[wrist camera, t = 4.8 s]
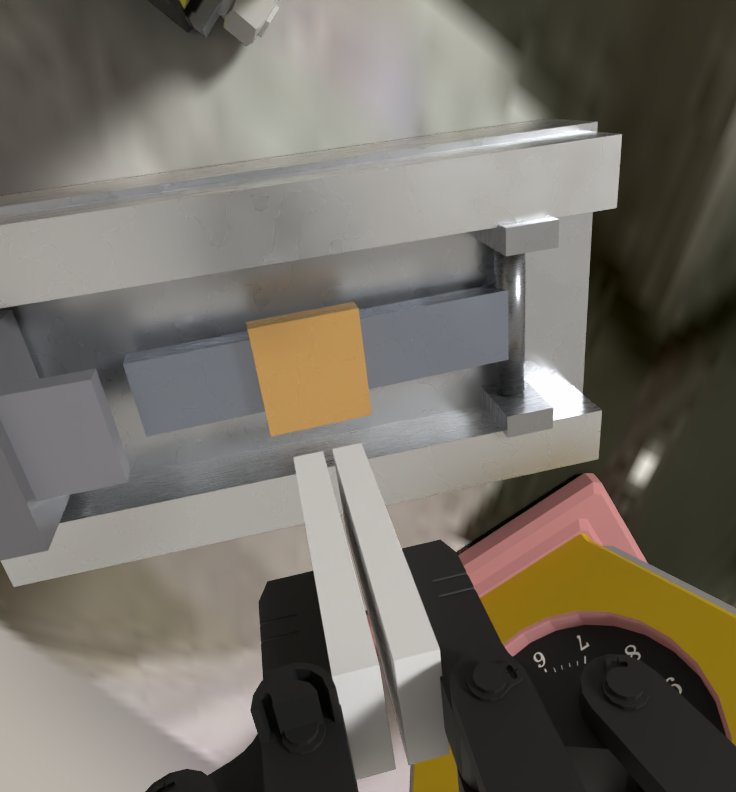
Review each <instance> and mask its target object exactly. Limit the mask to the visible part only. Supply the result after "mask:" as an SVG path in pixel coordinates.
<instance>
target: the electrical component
mask: <svg viewBox="0 0 736 792" xmlns="http://www.w3.org/2000/svg"><path fill="white" fill-rule="evenodd" d="M149 1H150V2H151V3H152V4H154V5H155V6H156V7H157V8H159V9H160V10H161V11H162V12H163V13H165V14H166V15H167V16H168V17H170V18H171V19H172V20H173V21H175V22H176V23H177V24H178V25H179V26H181V27H182V28H183V29H184V30H186V31H187V32H188V33H189V31H190V29H191V28H192V27H193V28H194V29H196V30H197V31H198V32H199V33H200V34H202V35H203V36H204V37H205V38H207V36H208V34H209V33H210V31H211V29H212V28H213V26H214V24H215V22H216V21H217V19H218V17H219V16H221V17H222V18H223V19H224V20H225V21H224V28H225V29H226V30H227V31H229V32H230V33H231V34H232V35H233V36H235V37H236V38H237V39H238V40H239V41H240V42H242V43H243V44H244V45H245V46H248V45H249V44H251V43H253V41H254V40H255V38H256V37H257V35H259V36H260V37H262V35H263V34H264V32H265V30H266V29H267V27H268V26H269V24H270V22H271V21H272V19H273V17H274V16H275V14H276V13H277V11H278V9H279V7H278V6H277V5H276V4H277V2H278V1H279V0H149Z"/></svg>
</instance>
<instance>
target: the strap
mask: <svg viewBox="0 0 736 792" xmlns="http://www.w3.org/2000/svg"><path fill="white" fill-rule="evenodd" d="M494 266H495V284H491V285H486V286H481V287H476V288H470V289H465V290H460V291H455V292H449V293H444V294H439V295H434V296H428V297H423V298H418V299H413V300H408V301H402V302H397V303H392V304H387V305H381V306H376V307H371V308H366V309H360V310H359V308H358V307H357V305H356V304H355V303H354V302H350V303H344V304H339V305H334V306H328V307H323V308H318V309H312V310H307V311H302V312H296V313H291V314H286V315H281V316H275V317H270V318H265V319H259V320H254V321H249V322H246V324H247V329H248V331H245V332H240V333H235V334H229V335H224V336H219V337H214V338H208V339H203V340H198V341H193V342H187V343H182V344H177V345H172V346H166V347H161V348H156V349H151V350H146V351H140V352H135V353H130V354H126V356H125V359H124V362H123V366H124V369H125V373H126V376H127V379H128V382H129V385H130V388H131V391H132V394H133V397H134V400H135V403H136V406H137V409H138V412H139V415H140V419H141V422H142V425H143V428H144V431H145V434H146V437H148V436H153V435H158V434H163V433H167V432H172V431H177V430H181V429H186V428H191V427H195V426H200V425H205V424H209V423H214V422H219V421H223V420H228V419H233V418H237V417H242V416H247V415H251V414H256V413H261V412H266V417H267V421H268V426H269V431H270V435H271V437H272V436H277V435H281V434H286V433H290V432H295V431H300V430H304V429H309V428H313V427H318V426H322V425H327V424H331V423H336V422H340V421H345V420H349V419H354V418H358V417H363V416H367V415H372V411H371V403H370V396H369V389H373V388H378V387H382V386H387V385H392V384H397V383H401V382H406V381H411V380H415V379H420V378H425V377H429V376H434V375H439V374H443V373H448V372H453V371H457V370H462V369H467V368H471V367H476V366H481V365H485V364H490V363H495V362H496V382H497V392H498V393H500V394H502V395H507V396H515V395H519V394H521V393H523V392H524V391H525V297H526V253H523V254H517V255H511V256H505V255H503V254H501V253H499V252H498V251H496V250H494Z"/></svg>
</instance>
